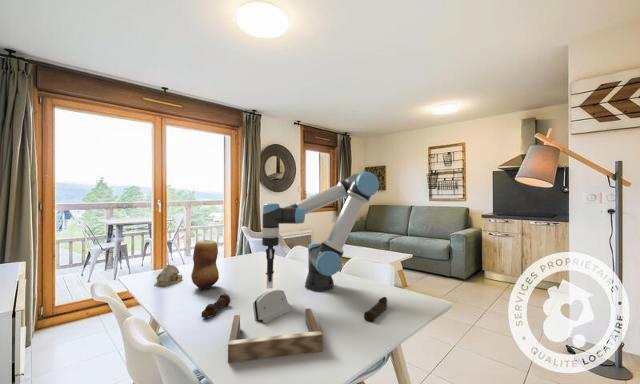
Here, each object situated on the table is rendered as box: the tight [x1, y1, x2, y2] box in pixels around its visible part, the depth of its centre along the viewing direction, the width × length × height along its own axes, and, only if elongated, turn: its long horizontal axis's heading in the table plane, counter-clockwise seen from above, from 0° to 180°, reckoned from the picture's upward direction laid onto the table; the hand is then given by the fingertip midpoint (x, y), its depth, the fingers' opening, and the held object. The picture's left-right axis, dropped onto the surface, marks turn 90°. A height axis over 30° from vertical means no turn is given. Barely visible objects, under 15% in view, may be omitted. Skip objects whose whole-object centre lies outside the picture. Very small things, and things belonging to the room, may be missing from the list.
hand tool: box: [363, 296, 388, 323], centre depth 115 cm, size 19×4×5 cm, turn 144°
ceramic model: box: [153, 264, 183, 287], centre depth 158 cm, size 14×11×10 cm
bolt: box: [200, 293, 232, 319], centre depth 117 cm, size 6×5×15 cm
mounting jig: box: [227, 308, 324, 364], centre depth 95 cm, size 28×21×5 cm
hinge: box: [252, 289, 292, 324], centre depth 115 cm, size 17×5×10 cm, turn 146°
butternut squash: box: [190, 239, 220, 291], centre depth 148 cm, size 14×13×25 cm
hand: (269, 287), depth 130 cm, fingers closed
